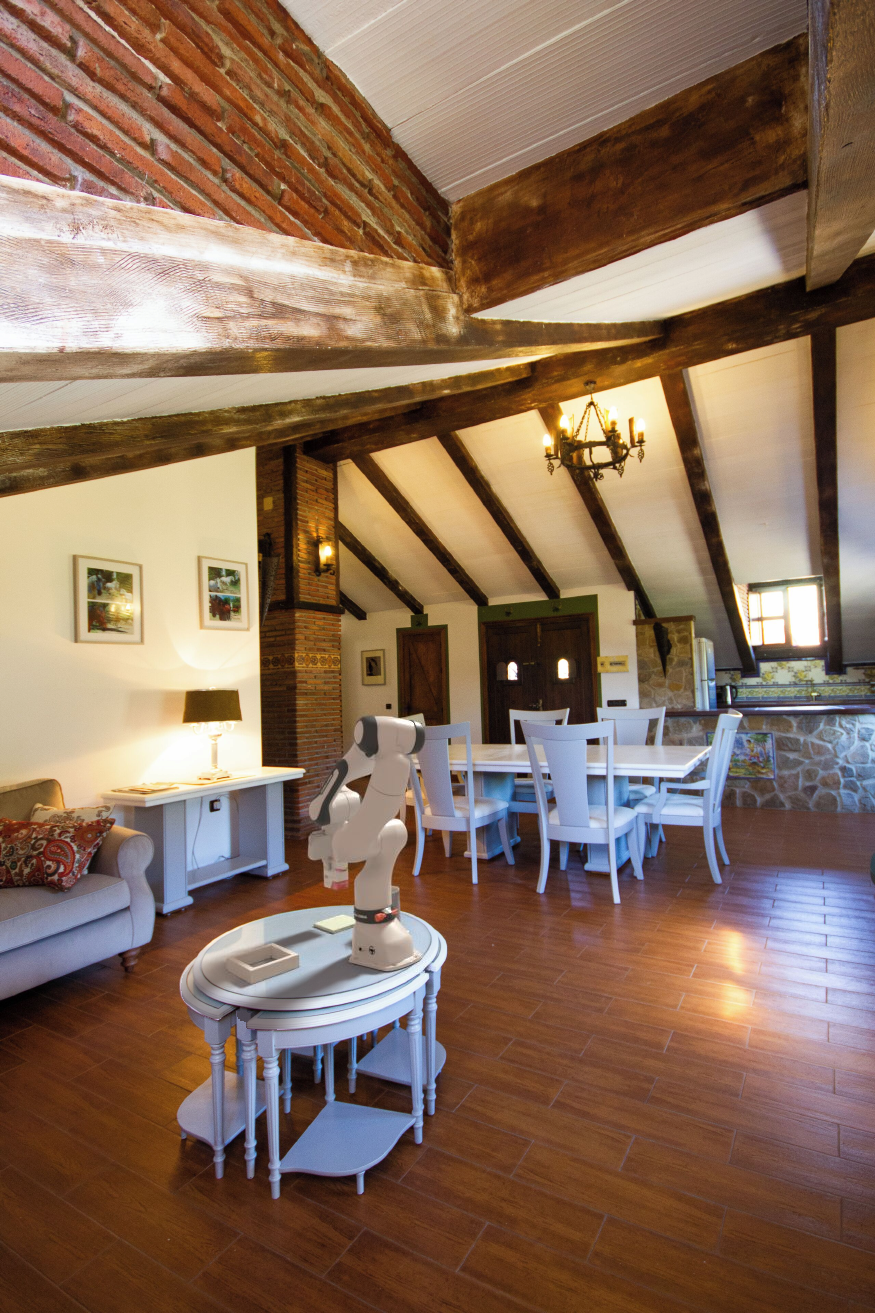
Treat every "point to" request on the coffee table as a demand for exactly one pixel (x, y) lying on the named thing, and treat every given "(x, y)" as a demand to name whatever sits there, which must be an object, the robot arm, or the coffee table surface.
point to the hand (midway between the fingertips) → (336, 868)
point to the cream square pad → (336, 924)
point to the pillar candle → (396, 901)
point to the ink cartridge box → (336, 874)
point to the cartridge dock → (252, 975)
